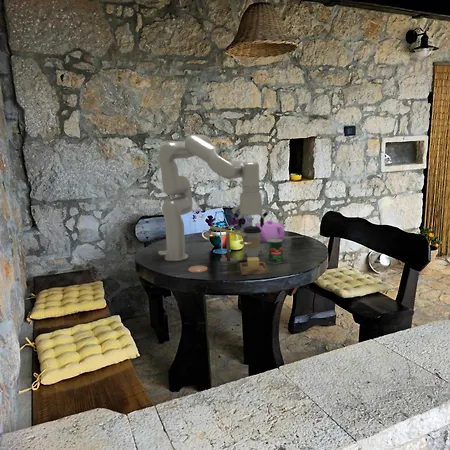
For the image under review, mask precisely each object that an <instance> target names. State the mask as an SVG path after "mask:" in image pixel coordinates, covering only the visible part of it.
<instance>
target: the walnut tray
mask: <svg viewBox="0 0 450 450" xmlns="http://www.w3.org/2000/svg"><path fill="white" fill-rule="evenodd" d="M239 269H240V274H241V276H244V275H246V276H247V275H268V274H269V268H268V267H267V264H266V262H265V261H259V269H250V270H248V263H247V262H239Z"/></svg>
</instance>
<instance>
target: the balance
mask: <svg viewBox="0 0 450 450" xmlns="http://www.w3.org/2000/svg"><path fill="white" fill-rule="evenodd" d="M209 230H215V231H218V232H219V231H220V232H223V233H225V234H226V235H225V236H226V237H225V238H226V243H225V244H226V257H220V264H221V265H225V264H237V263H238V259H237V257H231V246H230V245H231V244H230V243H231V241H230V239H231V237H230V234H234V235H237V236H242V240H241V241H239V245H243V246H246V245H248V244H251V243H252V242H251V241H248V237H246V234H244V232H238V231H234V230H229V229H226V228H225V229H224V228H220V227H217V226H211V225H209ZM203 236H204V237H206V238H212V237H216V236H217V233H215V232H211V231H209V232H207V233H204V235H203Z"/></svg>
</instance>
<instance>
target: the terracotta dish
mask: <svg viewBox="0 0 450 450" xmlns="http://www.w3.org/2000/svg"><path fill="white" fill-rule="evenodd" d="M206 271H208V267H207V266H206V265H193V266H190V267H188V272H190V273H204V272H206Z"/></svg>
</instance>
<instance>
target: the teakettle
mask: <svg viewBox="0 0 450 450" xmlns="http://www.w3.org/2000/svg"><path fill="white" fill-rule="evenodd" d="M254 226H257V227H260V229H261V232H260V243H265V244H267V239H270V238H280V239H283V241H284V239H285V237H286V234H285V226H283V223H282V222H274V221H273V220H272V219H268V220H266V221H264V225H263V227H261V226H260V222H259V223H254Z"/></svg>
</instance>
